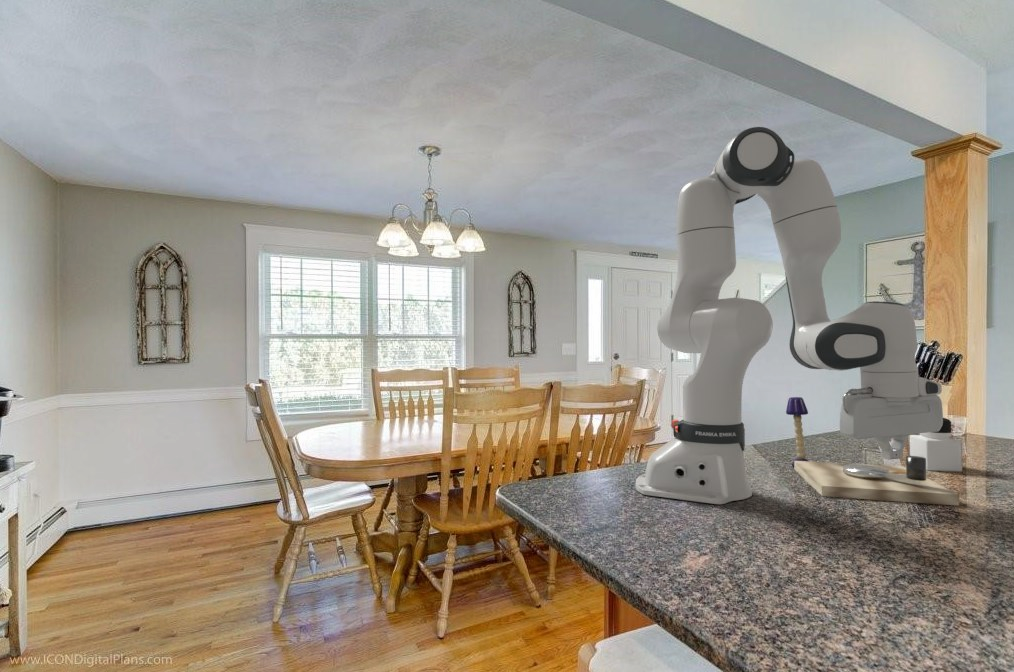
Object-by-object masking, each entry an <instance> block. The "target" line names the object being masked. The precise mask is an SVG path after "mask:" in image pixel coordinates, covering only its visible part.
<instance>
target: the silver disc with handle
mask: <svg viewBox="0 0 1014 672" xmlns="http://www.w3.org/2000/svg"><path fill="white" fill-rule="evenodd" d="M905 462H906V463H905V467H906V476H904V475H899V474H894V473H890V471H889V470H887V469H884V468H881V467H876V466H870V465H871V464H866V465H860V464H861V463H847V464H848V465H844V466H843V472H844V473H846V474H849V475H853V476H857V477H864V478H875V479H883V478H886V479H891V480H896V481H901V482H906V483H911V484H918V481H925V480H926V478H927V470H926V458H924V457H919V456H910V455H906V456H905Z"/></svg>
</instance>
